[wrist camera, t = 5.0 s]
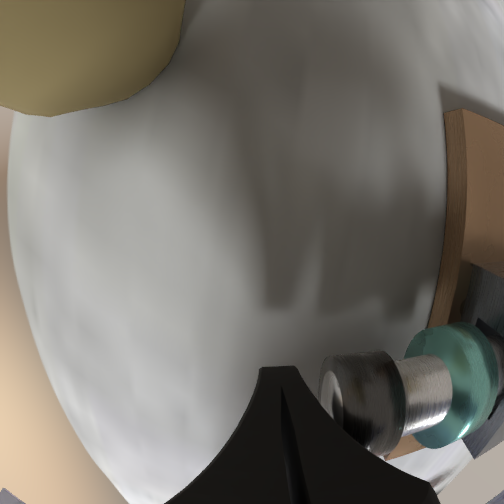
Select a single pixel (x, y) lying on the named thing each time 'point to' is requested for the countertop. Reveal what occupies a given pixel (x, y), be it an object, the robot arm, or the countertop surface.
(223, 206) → the countertop surface
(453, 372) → the shaft
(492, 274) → the sharpening stone
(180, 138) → the countertop surface
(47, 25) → the squeeze bottle
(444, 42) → the countertop surface
